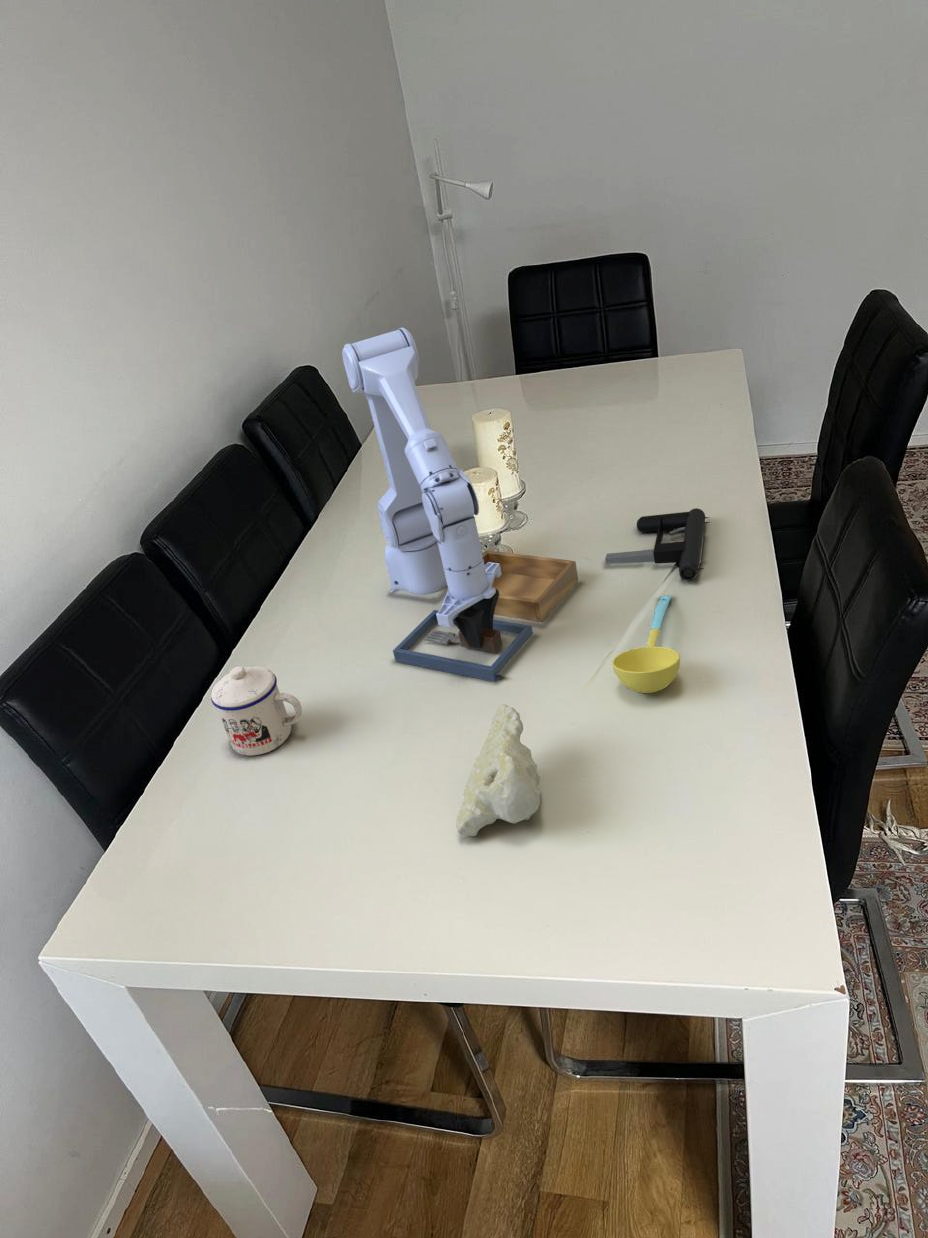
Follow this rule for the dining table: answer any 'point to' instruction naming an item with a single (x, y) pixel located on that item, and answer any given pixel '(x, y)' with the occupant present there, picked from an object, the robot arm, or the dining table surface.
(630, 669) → the ladle
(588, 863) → the dining table surface
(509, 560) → the wooden box
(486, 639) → the fork
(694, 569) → the submachine gun
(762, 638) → the dining table surface
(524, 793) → the white rock
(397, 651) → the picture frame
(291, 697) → the teacup with lid
